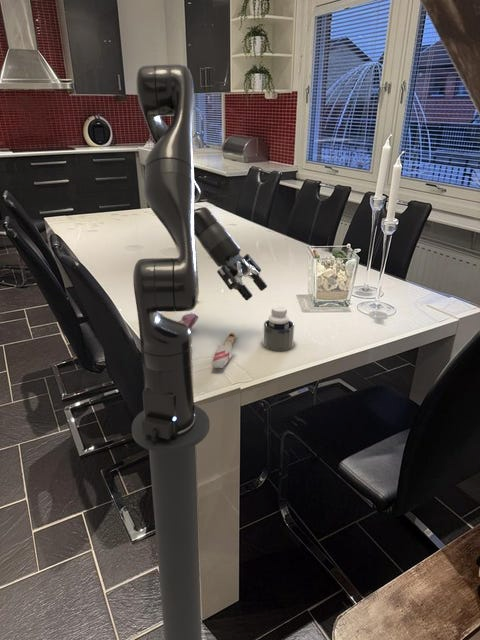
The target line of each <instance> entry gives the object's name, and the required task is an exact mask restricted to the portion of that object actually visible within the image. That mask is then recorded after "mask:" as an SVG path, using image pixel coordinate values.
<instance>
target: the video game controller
mask: <svg viewBox="0 0 480 640" xmlns="http://www.w3.org/2000/svg"><path fill="white" fill-rule="evenodd" d="M198 320H199V315H197V314H195V313H193V312H190V313H188V314H184V315H183V316H182V317H181V318H180V320H179V321H178V322H180V323H182V324H184V325H186V326H187V327H188V328H189V329H190V331H192V328H193V327H194V325H195V324H196V323H197V321H198Z"/></svg>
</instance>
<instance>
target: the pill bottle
mask: <svg viewBox="0 0 480 640" xmlns="http://www.w3.org/2000/svg"><path fill="white" fill-rule="evenodd" d="M287 314H288V308H287V307H285V306H284V305H274V306H272V307H271V314H270V315H268V320H269V325H268V327H269V328H272V329H276V330H285V329H288V328H289V321H290V317H289V316H288V315H287Z"/></svg>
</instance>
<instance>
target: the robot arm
mask: <svg viewBox="0 0 480 640" xmlns="http://www.w3.org/2000/svg"><path fill="white" fill-rule="evenodd" d="M135 80H136V81H135V82H136V93H137V100H138V104H139V107H140V111H141V113H142V116H143V119H144V122H145V123H146V126H147V129H148V132H149V135H150V137H151V140H152V142H153V144H154V145H153V147H152V148H151V150H150V152H149V153H148V155H147V156H146V159H145V163H144V175H143V176H144V177H143V179H144V180H143V183H144V184H143V185H144V186H143V192H144V197H145V200H146V203H147V204H148V206H149V208H150V209H151V211H152V212H153V214H154V215H155V217H156V218H157V219H158V220H159V222H160V223H161V225H162V226H163V227H164V229H166V231H167V232H168V234H169V236H170V238H171V240H172V241H173V244H174V245H175V249H176V252H177V254H178V257H160V258H159V257H157V258H155V257H153V258H140V259H138V260H137V261H136V263H135V265H134V268H133V273H132V274H133V276H132V278H133V279H132V280H133V281H132V282H133V283H132V284H133V292H134V300H135V306H136V312H137V320H138V331H139V343H140V344H139V345H140V354H141V368H142V380H143V381H142V382H143V391H142V404H143V410H144V416H145V418H144V419H143V420H142V432H143V434H146V435H151V439H152V441H154V442H157V441H158V438H157V437H160V438H164V439H168V440H169V439H172V440H175V439H176V438H177V437H178V436H181V435H184V434H186V433H187V432H189V431H190V430H191V429H192V428H193V427H194V424H195V415H194V410H195V406H196V405H195V399H194V398H195V397H194V368H193V367H194V365H193V364H194V363H193V336H192V332H191V331H192V330H190V329H189V328H188V327H187V326H186V325H184V324H182V323H180V322H179V321H177V320H173V319H171V318H170V317H169V318H168V317H167V316H164V315H163V314H162V313H175V312H176V313H178V312H190V311H193V310H194V309H196V307H197V305H198V300H199V295H198V292H199V293H200V289H199V273H198V272H199V271H198V259H197V247H196V239H197V240H198V242H199V243H200V245H201V246H202V248H203V249H204V250H205V252H206V253H207V255H208V257H210V259H211V260H212V261H213V262H214V264H215V265H216V266H217V267H218V268H219V269H218V270H217V271H216V273H217V275H218V276H219V277H220V278H221V280H222V281H223V282H224V284H225V285H226V287H227V288H228V289H229V290H230V291H232V290H234V291H235V290H236V291H237V292H238V293H239V294H240V296H241V297H242V298H243V299H244V300H245V301H248V300H250V299H251V298H253V293H252V292H251V291H250V290H249V288H248V287H247V286H246V284H244V282H243V277H244V278H248V279H251V280H252V282H253V283H254V284H255V285H256V287H257V288H258V289H259V291H261V292H262V291H264V290H265V289H267V288H268V285H267V283H266V282H265V281H264V279H263V278H262V276H260V275H261V272H262V269H261V267H260V266H259V265H258V263H256V261H255V260H254V259H253V258H252V256H251V255H250V254H248V253H246V254H245V255H244V256H242V255H241V253H240V252H241V247H240V246H239V244H238V243H237V242H236V240H235V239H234V238H233V237H232V236H231V234H230V233H229V232H228V231H227V229H226V228H225V227H224V226H223V225H222V224H221V223H220V222H219V220H218V219H217V218H216V216H214V214H213V213H212V212H211V210H210V209H209V208H208V207H206V206H201V207H198V208H195V203H197V202H198V201H199V199H200V197H201V192H202V191H201V188H200V186H199V184H198V183H197V181H196V179H195V165H194V164H195V163H194V149H193V147H194V146H193V129H194V128H193V124H194V104H195V103H194V102H195V91H194V90H195V88H194V87H195V86H194V79H193V75H192V73H191V70H190V68H189V67H188V66H186V65H183V64H179V63H178V64H177V63H176V64H174V63H173V64H147V65H142V66H140V67H139V68H138V69H137V73H136V79H135ZM162 117H172V120H171V123H170V125H169V126H168V125H167V123H165V121H164V120H163V118H162ZM194 405H195V406H194Z"/></svg>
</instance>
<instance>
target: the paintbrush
mask: <svg viewBox="0 0 480 640" xmlns="http://www.w3.org/2000/svg"><path fill="white" fill-rule="evenodd" d="M235 339H236V333H235V332H230V333H229V334H228V336H227V338H226V340H225V342H224V344H217V346H216V350H215V353H214V356H213V360H212V363H211V368H218V369H220V368H221V369H223V368H224V367H225V366H226V365H227V364H228V363H229V361H230V360H231V359H232V358H233V344H234V341H235Z"/></svg>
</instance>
